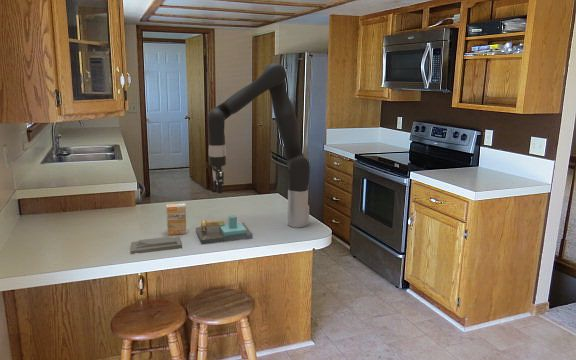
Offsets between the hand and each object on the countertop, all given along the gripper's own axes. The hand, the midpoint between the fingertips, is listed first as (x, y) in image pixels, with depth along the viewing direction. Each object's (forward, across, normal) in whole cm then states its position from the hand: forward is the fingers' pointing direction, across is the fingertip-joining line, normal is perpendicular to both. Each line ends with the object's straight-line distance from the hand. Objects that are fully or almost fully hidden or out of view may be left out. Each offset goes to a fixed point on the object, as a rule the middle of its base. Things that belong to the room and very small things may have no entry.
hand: (218, 191), depth 211 cm
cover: (+16, -10, -4) cm, 19 cm away
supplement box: (+18, 0, +19) cm, 26 cm away
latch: (+15, -6, +4) cm, 17 cm away
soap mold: (+18, -14, +29) cm, 37 cm away
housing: (+18, -10, 0) cm, 20 cm away
